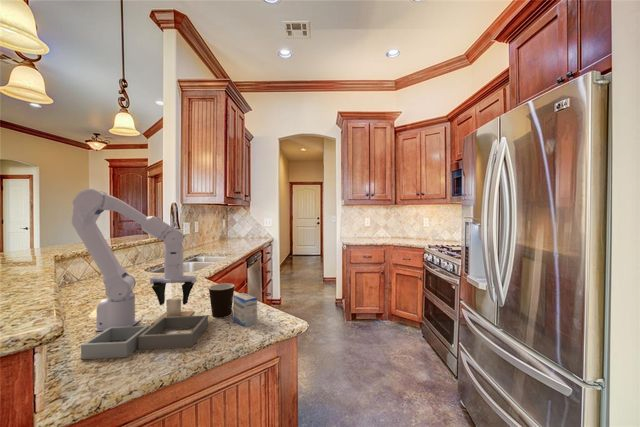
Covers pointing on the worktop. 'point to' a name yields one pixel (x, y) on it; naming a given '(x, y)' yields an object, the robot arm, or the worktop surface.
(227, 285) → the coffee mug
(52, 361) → the worktop surface
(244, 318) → the medicine box
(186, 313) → the tan board
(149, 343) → the charcoal bin
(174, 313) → the cream capsule
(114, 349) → the slate bin
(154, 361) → the worktop surface
